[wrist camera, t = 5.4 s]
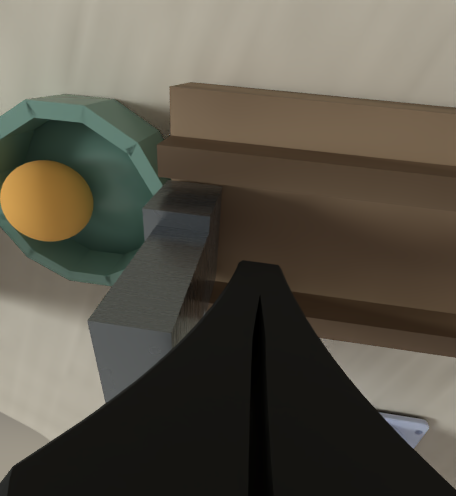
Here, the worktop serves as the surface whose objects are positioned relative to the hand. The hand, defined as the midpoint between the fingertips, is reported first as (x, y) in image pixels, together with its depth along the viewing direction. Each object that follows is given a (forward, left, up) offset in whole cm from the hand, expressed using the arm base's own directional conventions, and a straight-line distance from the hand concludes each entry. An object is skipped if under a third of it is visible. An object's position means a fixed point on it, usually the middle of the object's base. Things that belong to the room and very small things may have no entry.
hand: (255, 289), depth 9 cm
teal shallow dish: (0, +8, -6) cm, 10 cm away
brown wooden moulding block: (0, -5, -6) cm, 8 cm away
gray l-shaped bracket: (0, +3, -3) cm, 4 cm away
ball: (0, +9, -4) cm, 10 cm away
